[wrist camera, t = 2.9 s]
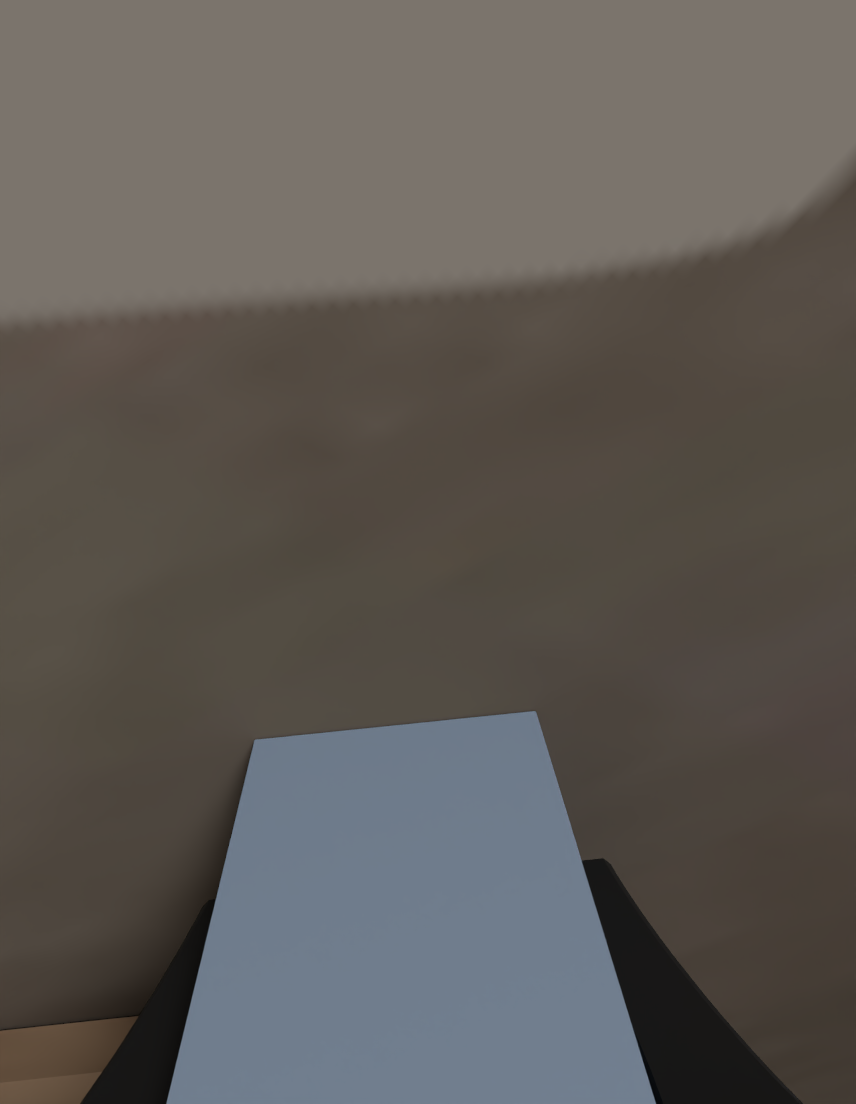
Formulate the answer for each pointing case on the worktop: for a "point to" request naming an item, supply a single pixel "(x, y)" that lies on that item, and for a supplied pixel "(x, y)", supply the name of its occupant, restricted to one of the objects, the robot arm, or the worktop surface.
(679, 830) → the worktop surface
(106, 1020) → the board
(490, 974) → the peg block
